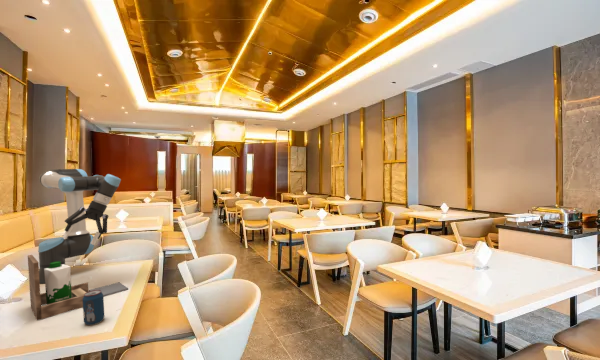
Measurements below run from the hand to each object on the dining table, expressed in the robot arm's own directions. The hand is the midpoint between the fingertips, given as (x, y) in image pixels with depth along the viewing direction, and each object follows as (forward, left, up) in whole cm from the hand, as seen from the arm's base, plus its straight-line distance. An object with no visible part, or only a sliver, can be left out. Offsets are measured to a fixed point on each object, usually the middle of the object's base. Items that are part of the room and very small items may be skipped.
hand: (78, 241), depth 154 cm
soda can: (+35, -25, -27) cm, 50 cm away
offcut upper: (+8, -9, -25) cm, 27 cm away
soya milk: (+5, -15, -27) cm, 31 cm away
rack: (+6, -13, -26) cm, 30 cm away
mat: (+12, +4, -26) cm, 29 cm away
